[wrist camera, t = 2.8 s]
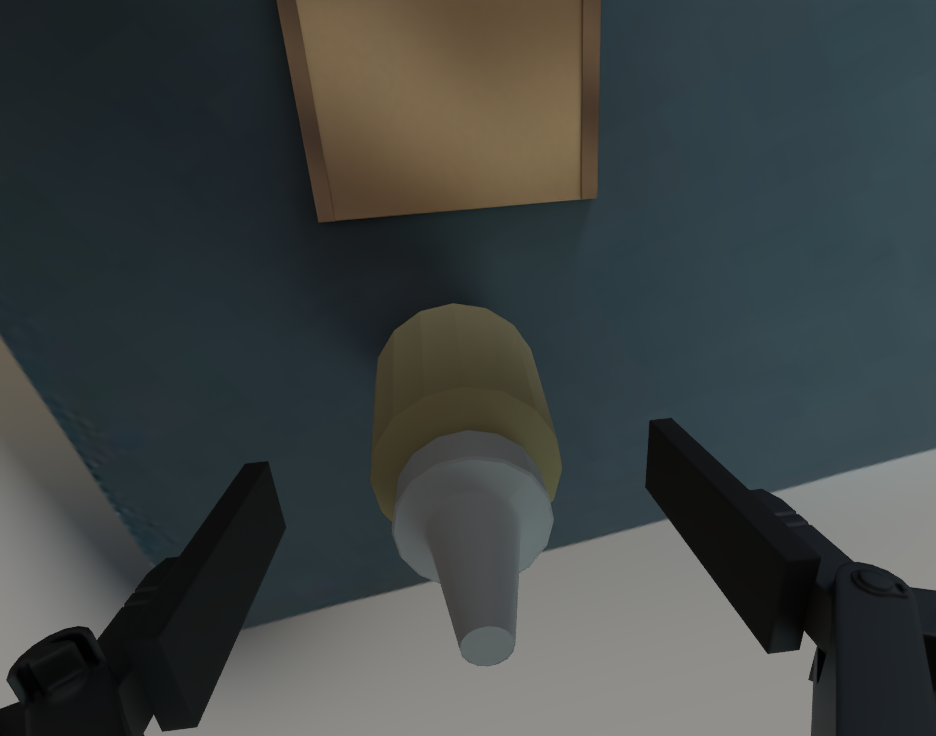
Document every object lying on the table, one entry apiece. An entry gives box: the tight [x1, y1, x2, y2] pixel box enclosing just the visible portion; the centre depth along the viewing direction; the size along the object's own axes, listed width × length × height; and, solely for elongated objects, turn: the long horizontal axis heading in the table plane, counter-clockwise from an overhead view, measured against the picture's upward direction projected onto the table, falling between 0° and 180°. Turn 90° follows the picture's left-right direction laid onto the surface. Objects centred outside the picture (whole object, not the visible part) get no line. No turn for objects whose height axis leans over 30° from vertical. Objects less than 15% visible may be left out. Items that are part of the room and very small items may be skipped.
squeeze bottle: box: [370, 303, 562, 666], centre depth 18 cm, size 8×8×18 cm
